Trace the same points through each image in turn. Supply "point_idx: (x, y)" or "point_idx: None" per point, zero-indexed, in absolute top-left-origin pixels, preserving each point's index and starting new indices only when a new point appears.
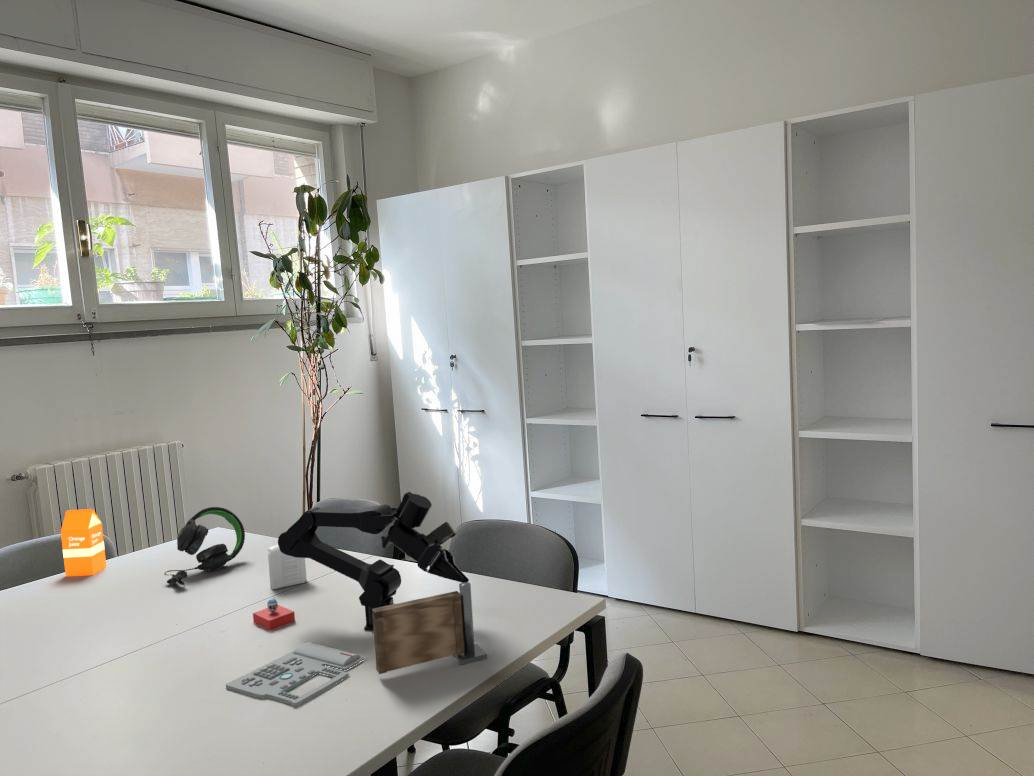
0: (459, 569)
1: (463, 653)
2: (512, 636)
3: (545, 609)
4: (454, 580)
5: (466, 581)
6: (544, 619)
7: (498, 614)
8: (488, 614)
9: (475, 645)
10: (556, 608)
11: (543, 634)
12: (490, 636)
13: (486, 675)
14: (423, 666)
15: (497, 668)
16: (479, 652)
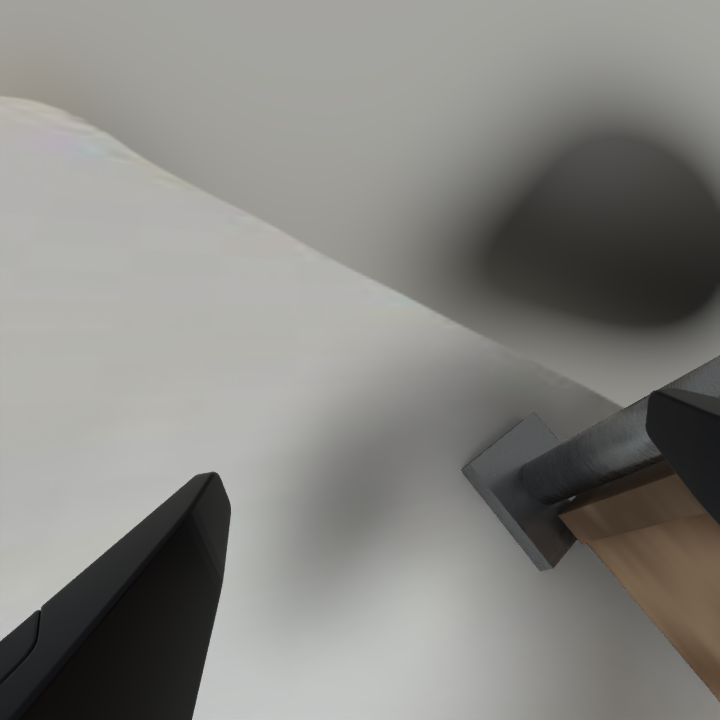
0: (71, 610)
1: (562, 502)
2: (342, 352)
3: (57, 238)
4: (200, 681)
5: (223, 501)
6: (179, 250)
7: (64, 429)
8: (46, 487)
9: (487, 467)
10: (58, 205)
11: (319, 263)
12: (348, 434)
13: (616, 408)
14: (671, 675)
15: (569, 383)
16: (535, 440)
